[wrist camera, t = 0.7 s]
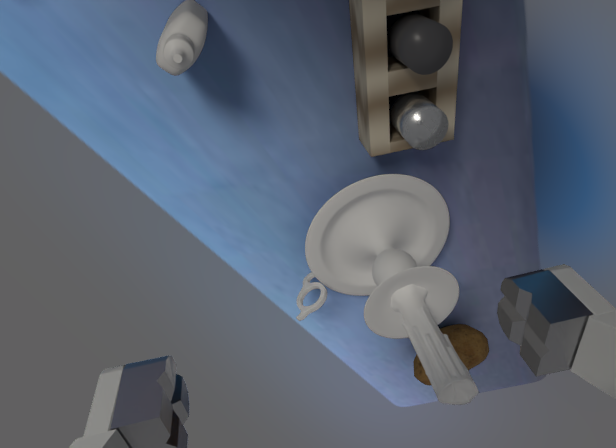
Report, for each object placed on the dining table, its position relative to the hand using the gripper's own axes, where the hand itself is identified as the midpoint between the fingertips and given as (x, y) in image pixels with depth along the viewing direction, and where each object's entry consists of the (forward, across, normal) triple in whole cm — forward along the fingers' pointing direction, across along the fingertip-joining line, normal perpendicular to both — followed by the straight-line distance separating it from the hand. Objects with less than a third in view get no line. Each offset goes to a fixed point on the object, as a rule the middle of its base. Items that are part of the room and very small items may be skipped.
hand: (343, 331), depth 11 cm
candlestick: (+43, -10, +30) cm, 53 cm away
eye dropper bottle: (+42, +6, -1) cm, 42 cm away
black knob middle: (+38, -16, +3) cm, 41 cm away
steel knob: (+38, -16, +11) cm, 43 cm away
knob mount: (+42, -16, +3) cm, 45 cm away
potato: (+43, -24, +57) cm, 75 cm away
